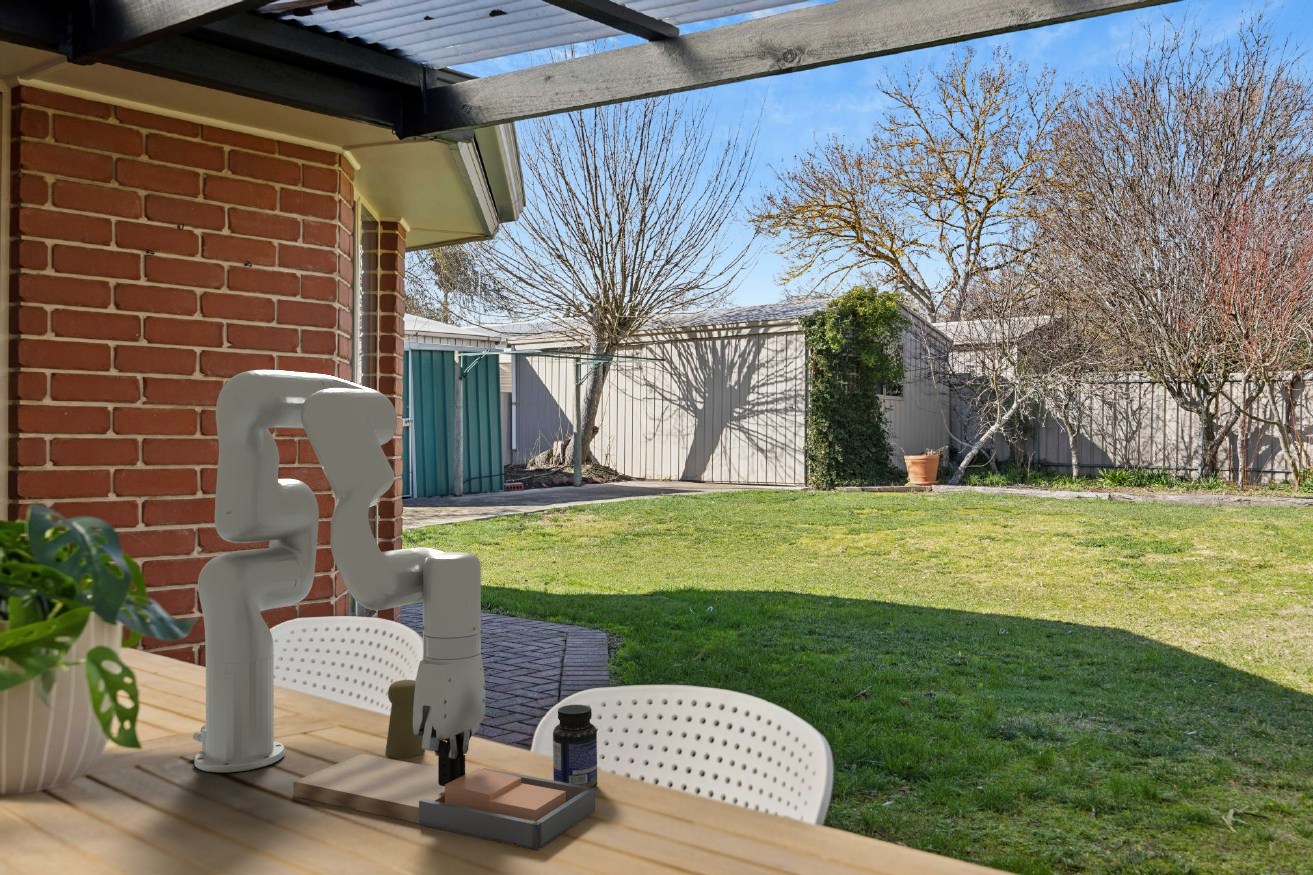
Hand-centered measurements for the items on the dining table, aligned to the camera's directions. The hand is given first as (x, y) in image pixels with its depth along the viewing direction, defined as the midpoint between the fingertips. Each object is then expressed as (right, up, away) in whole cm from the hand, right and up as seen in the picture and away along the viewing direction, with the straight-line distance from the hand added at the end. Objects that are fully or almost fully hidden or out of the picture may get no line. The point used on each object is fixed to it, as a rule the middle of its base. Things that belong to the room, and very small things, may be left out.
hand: (451, 784), depth 129 cm
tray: (+8, -3, -4) cm, 10 cm away
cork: (-12, -3, +23) cm, 26 cm away
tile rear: (+5, -2, -2) cm, 5 cm away
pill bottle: (+16, -3, +7) cm, 17 cm away
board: (-10, -3, +5) cm, 11 cm away
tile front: (+11, -3, -5) cm, 12 cm away
